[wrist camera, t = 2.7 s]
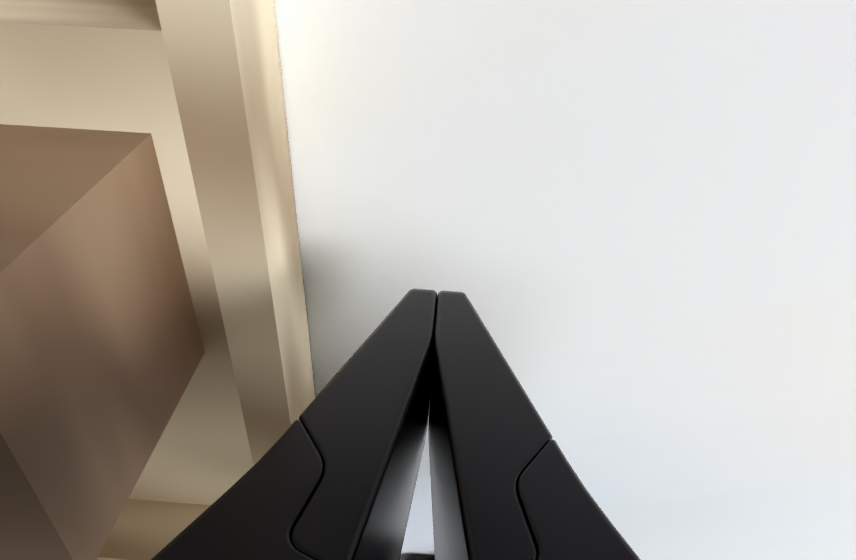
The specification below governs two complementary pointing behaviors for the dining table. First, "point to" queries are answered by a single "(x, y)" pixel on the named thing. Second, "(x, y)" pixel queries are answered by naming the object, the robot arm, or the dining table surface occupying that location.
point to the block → (84, 333)
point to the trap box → (189, 215)
